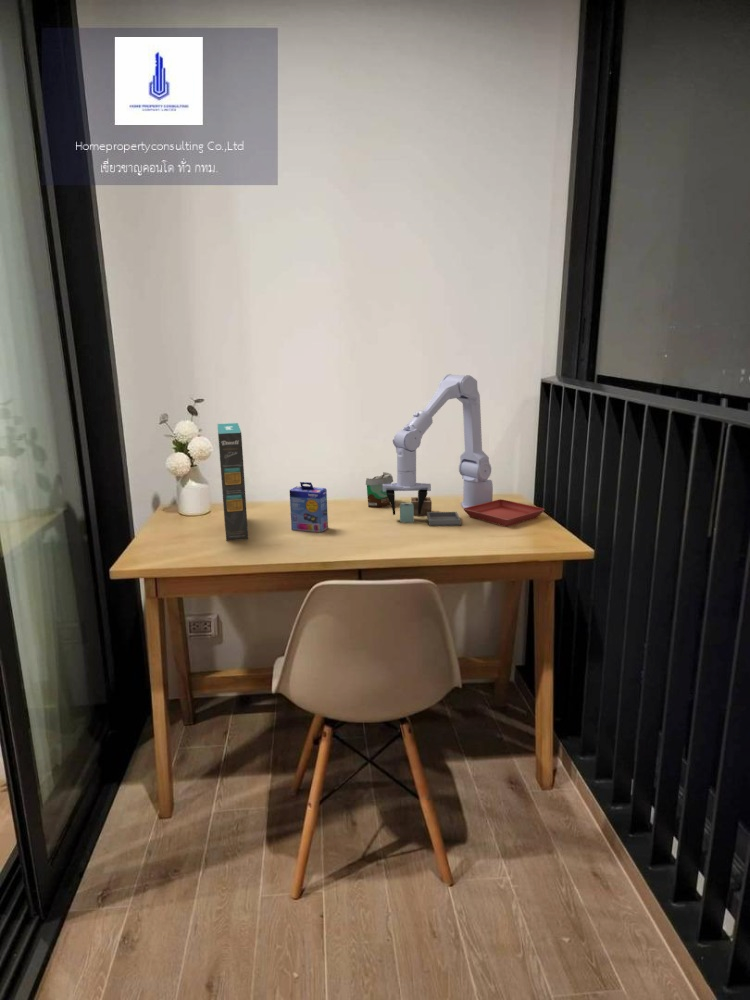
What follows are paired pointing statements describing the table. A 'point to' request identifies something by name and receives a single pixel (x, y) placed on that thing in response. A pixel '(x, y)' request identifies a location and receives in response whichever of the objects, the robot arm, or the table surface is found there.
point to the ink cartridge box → (308, 508)
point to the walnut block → (425, 507)
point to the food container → (378, 490)
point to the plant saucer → (503, 512)
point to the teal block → (406, 512)
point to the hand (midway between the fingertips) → (406, 513)
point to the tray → (443, 519)
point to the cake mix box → (233, 481)
